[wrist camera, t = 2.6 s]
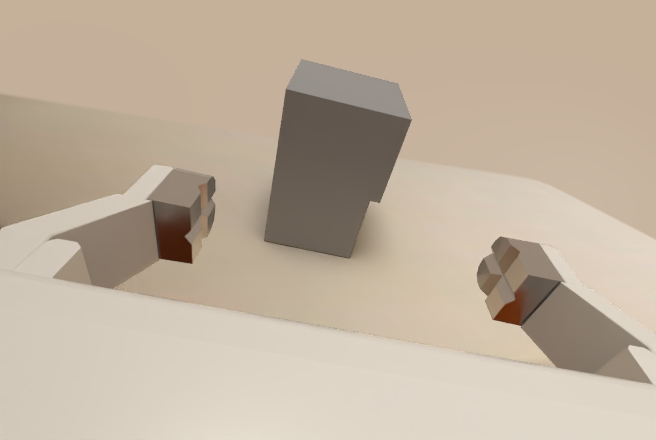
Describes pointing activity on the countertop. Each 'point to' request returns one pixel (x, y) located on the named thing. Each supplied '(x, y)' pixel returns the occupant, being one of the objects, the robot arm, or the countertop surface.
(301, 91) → the grey block
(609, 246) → the countertop surface
